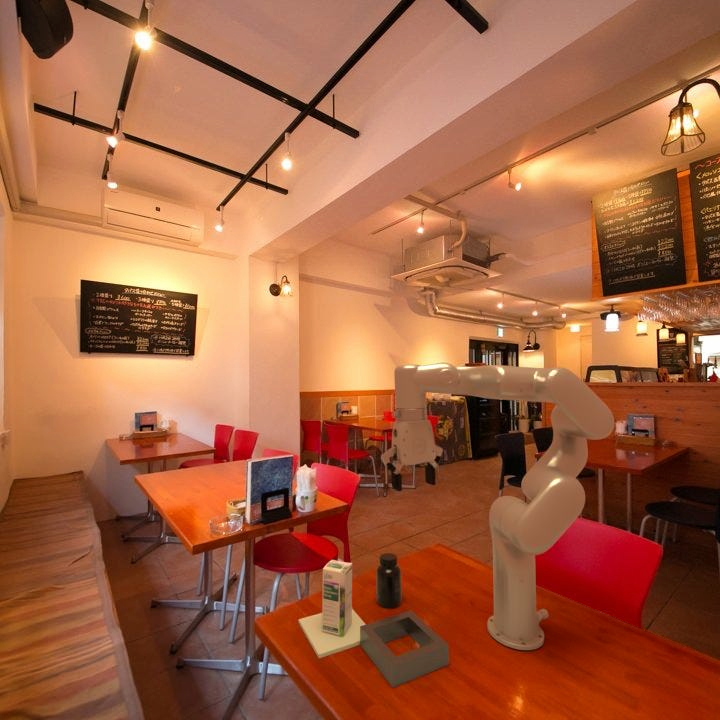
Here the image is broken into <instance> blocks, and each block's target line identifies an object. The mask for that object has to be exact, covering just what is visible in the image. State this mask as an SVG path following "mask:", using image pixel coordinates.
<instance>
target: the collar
mask: <svg viewBox="0 0 720 720" xmlns="http://www.w3.org/2000/svg"><path fill="white" fill-rule="evenodd" d="M365 624H366V625H363V626H360V645H359V646H360V647H361V649H362V650H364V652H365V653H366V654H367V656H368V657H369V659H370V660H371V661H372V663H373V664H374V666H375V667H376V668H377V669H378V671H379V672H380V673H381V674H382V676H383V677H384V678H385V679H386V680H387V682H388V683H389V685H390V686H391V687H392V688H396V687H398V686H401V685H404V684H406V683H408V682H410V681H412V680H415V679H418V678H420V677H422V676H425V675H427V674H429V673H432V672H434V671H437V670H440V669H441V668H444V667H446V666H448V665H449V664H450V653H449V652H450V647H449V646H450V645H449V644H448V642H446V641H445V639H443V638H442V637H441V636H440V634H437V633H436V631H434V630H433V629H432V628H431V627H430V626H429V625H428V624H427V623H425V621H424V620H422V619H421V618H420V617H419V616H418V615H417V614H416V613H415V612H413V611H412V610H407V611H405V612H402V613H398V614H396V615H392V616H389V617H386V618H383V619H382V618H381V619H378V620H376V621H373V622H369V623H365ZM405 636H410V637H411V638H412V639H413V640H414V641H415V643H416V644H417V645H419V648H416V649H413V650H410V651H407V652H405V653H402V654H400V655H397V656H396V655H395V653H394V652H392V650H391V649H390V648H389V647H388V646H387V644H386V643H388V642H391V641H394V640H397V639H400V638H403V637H405ZM449 666H450V665H449Z"/></svg>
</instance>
